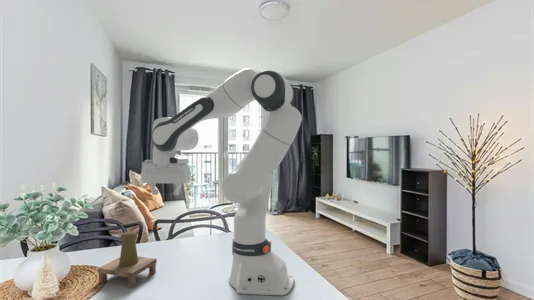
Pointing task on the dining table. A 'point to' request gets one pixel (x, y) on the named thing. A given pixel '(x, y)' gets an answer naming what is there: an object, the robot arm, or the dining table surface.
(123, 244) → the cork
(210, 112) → the robot arm
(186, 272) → the dining table surface
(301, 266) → the dining table surface
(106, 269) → the walnut stand
